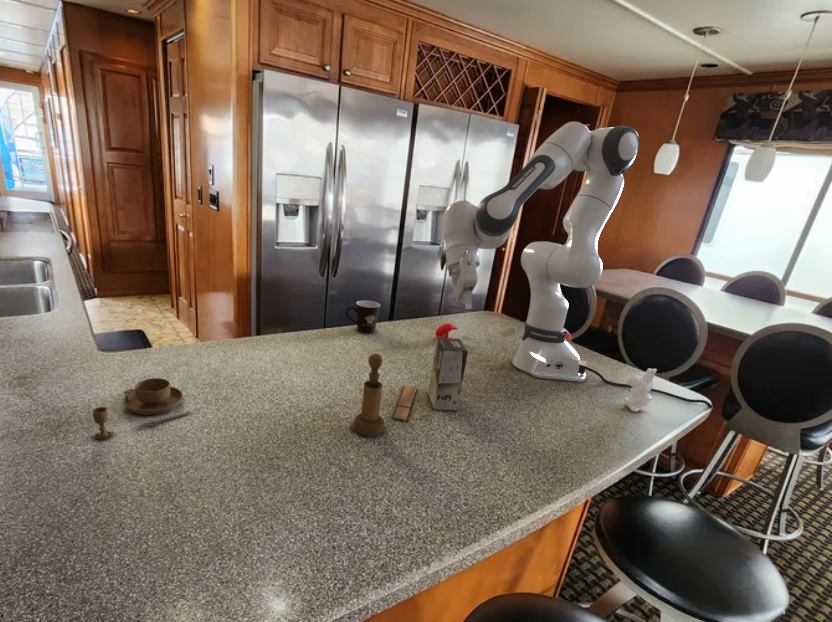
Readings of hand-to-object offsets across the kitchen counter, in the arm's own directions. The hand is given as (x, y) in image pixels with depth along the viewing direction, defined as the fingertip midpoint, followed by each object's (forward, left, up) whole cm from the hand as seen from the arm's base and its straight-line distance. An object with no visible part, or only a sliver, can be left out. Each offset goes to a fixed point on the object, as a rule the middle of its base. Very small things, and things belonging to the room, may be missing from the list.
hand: (468, 310), depth 122 cm
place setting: (+68, +44, -22) cm, 84 cm away
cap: (+6, -36, -22) cm, 43 cm away
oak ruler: (+12, +17, -22) cm, 30 cm away
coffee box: (+3, +13, -22) cm, 26 cm away
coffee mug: (+36, -32, -22) cm, 53 cm away
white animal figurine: (-49, -4, -22) cm, 54 cm away
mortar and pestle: (+18, +33, -22) cm, 43 cm away
